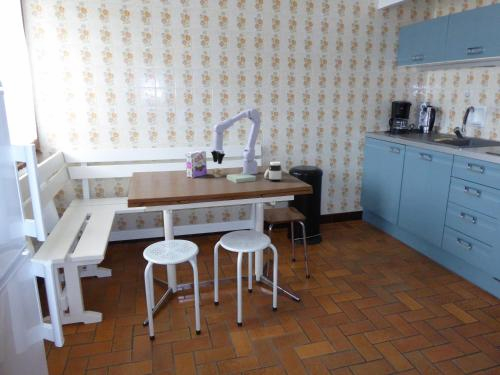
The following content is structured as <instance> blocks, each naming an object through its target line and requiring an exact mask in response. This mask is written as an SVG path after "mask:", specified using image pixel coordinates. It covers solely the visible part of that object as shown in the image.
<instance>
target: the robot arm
mask: <svg viewBox="0 0 500 375" xmlns="http://www.w3.org/2000/svg"><path fill="white" fill-rule="evenodd" d="M243 118H247V119H249V120H250V121H251V124H252V125H251V128H250V132H249V135H248V141H247V144H246V146H245V147H244V149H243V151H242V153H241V157H242V161H243V162H242V168H243V169H242V171H241V172H240V174H241V173H247V174H250V175H255V174H259V172H258V162H257V160H255V158H256V149H255V147H256V143H257V138H258V135H259V131H260V128H261V124H262V121H261V113H260V112H259V110H258V109H257V108H251V107H250V108H249V107H248V108H246V109H244V110H242V111H241V112H240V113H238V114H236V115H235V116H233V117H231V118H230V117H227V118H225V119H224V120H222V121H219V122H218V123H216V124H215V125H214V126H213V127H212V128H213V129H212V130H213V131H214V132H213V133H214V135H213V147H212V149H211V151H210V153H211V155H212V161H213V163H217V165H222V164H223V161H224V160H223V159H224V158H225V156H226V153H225V150H224V148H223V147H224V146H223V144H224V133H225V131H226V130H228V129H230V128H231V127H233V126H234V124H235V123H237V122H238V121H240V120H242V119H243Z"/></svg>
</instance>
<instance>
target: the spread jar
mask: <svg viewBox="0 0 500 375" xmlns="http://www.w3.org/2000/svg"><path fill="white" fill-rule="evenodd" d="M281 164H282V162H281V161H270V162H269V167H268V168H267V169H266V170H265V172H264V174H263V177H264V179H266V180H268V179H269V181H270V182H274V183H275V182H277V183H278V182H282V173H283V172H282V165H281Z"/></svg>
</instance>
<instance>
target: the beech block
mask: <svg viewBox="0 0 500 375" xmlns="http://www.w3.org/2000/svg"><path fill="white" fill-rule="evenodd" d="M223 172H224V169H222V168H220V167H218V168H212V176H213V177H214V178H222V177H223V176H224V173H223Z"/></svg>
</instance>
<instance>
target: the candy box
mask: <svg viewBox="0 0 500 375" xmlns="http://www.w3.org/2000/svg"><path fill="white" fill-rule="evenodd" d="M185 164H186V165H185V169H186V178H191V179H195V178H198V177H203V176H207V175H208V174H207V173H208V171H207V168H208V167H207V152H206V150H205V151H204V150H197V151H196V150H195V151H190V152H186V153H185Z"/></svg>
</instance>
